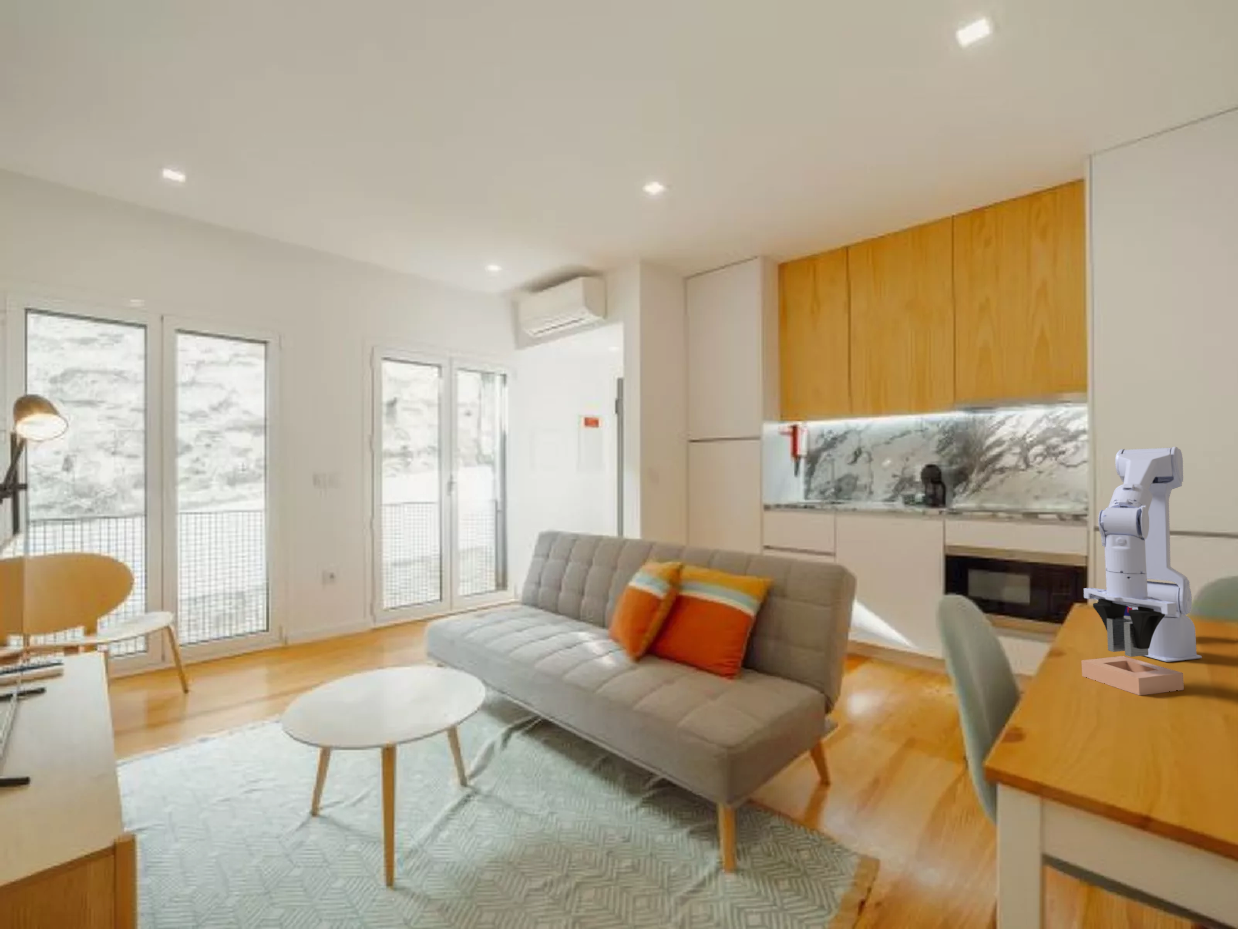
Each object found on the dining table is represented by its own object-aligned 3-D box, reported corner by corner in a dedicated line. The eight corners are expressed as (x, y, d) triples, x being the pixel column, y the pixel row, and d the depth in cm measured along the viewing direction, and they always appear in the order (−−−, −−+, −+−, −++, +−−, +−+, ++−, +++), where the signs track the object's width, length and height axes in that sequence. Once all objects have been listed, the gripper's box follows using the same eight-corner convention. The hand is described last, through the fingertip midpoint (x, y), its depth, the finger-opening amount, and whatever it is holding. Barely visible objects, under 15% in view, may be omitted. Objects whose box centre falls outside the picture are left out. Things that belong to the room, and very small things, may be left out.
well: (1123, 671, 110) (1123, 655, 110) (1183, 689, 101) (1183, 672, 101) (1082, 676, 108) (1081, 660, 108) (1139, 695, 99) (1138, 678, 99)
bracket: (1124, 648, 107) (1123, 617, 107) (1148, 655, 103) (1147, 622, 103) (1107, 650, 106) (1106, 618, 106) (1131, 656, 102) (1129, 623, 102)
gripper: (1070, 566, 111) (1073, 635, 111) (1152, 579, 97) (1156, 658, 97) (1098, 565, 113) (1102, 633, 112) (1184, 577, 98) (1188, 655, 98)
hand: (1129, 644), depth 105 cm, fingers closed on bracket, 4 cm apart
